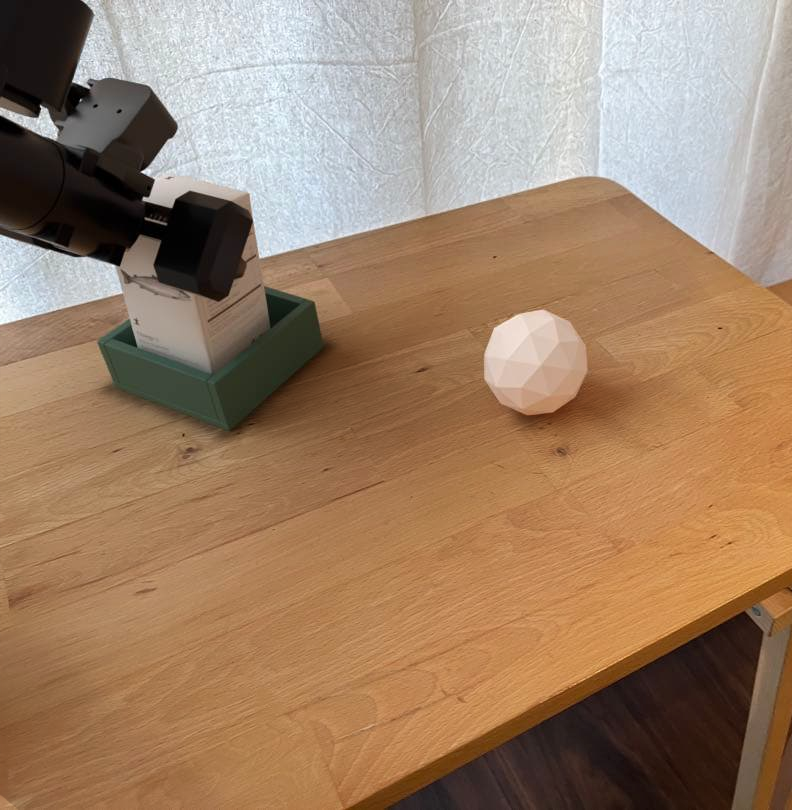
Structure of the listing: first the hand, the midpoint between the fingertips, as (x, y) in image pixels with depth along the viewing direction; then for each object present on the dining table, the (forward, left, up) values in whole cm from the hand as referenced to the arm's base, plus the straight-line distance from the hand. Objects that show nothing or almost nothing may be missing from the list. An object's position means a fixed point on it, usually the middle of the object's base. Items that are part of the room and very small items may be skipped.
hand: (202, 258), depth 66 cm
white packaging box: (0, -2, -7) cm, 7 cm away
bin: (0, -1, -10) cm, 10 cm away
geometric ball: (+24, +8, -10) cm, 27 cm away
